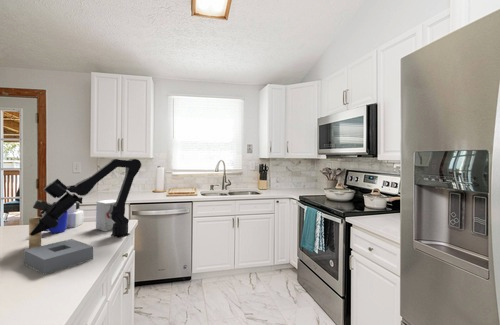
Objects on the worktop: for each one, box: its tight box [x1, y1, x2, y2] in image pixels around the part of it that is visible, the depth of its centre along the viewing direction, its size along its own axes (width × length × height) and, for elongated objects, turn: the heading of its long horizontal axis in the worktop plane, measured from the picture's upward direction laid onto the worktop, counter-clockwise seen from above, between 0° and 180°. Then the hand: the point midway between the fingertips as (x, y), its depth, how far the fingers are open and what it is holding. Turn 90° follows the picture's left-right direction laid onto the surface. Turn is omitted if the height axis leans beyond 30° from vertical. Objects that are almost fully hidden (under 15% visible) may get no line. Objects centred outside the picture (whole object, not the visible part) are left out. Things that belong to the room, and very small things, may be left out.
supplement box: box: [95, 199, 117, 232], centre depth 144 cm, size 9×9×15 cm
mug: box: [44, 212, 68, 234], centre depth 133 cm, size 8×12×10 cm
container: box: [66, 201, 84, 228], centre depth 147 cm, size 8×8×13 cm
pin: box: [28, 216, 42, 249], centre depth 111 cm, size 4×4×13 cm
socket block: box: [23, 238, 94, 275], centre depth 99 cm, size 16×16×5 cm
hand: (31, 233), depth 110 cm, fingers open, 5 cm apart
